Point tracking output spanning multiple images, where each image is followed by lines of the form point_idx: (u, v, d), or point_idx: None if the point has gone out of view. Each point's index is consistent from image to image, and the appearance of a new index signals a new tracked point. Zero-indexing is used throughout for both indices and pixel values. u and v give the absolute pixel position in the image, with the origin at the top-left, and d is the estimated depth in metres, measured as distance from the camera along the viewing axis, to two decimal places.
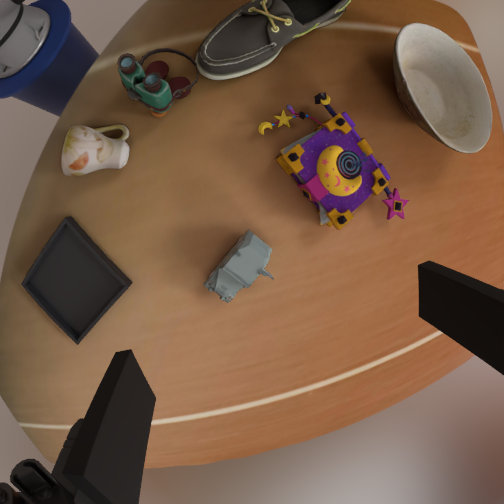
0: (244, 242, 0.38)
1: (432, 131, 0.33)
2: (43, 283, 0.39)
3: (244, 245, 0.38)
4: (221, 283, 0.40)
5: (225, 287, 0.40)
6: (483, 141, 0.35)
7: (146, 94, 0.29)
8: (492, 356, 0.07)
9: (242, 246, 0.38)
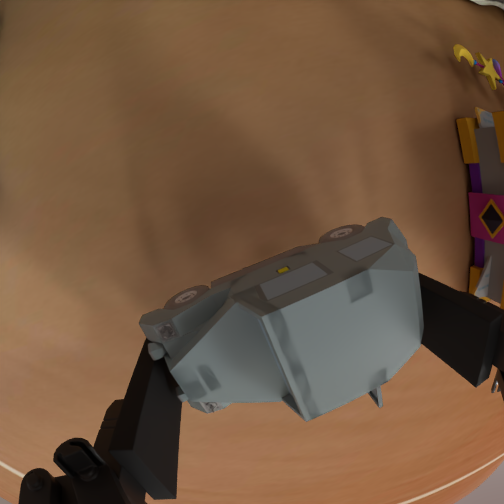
0: (396, 250, 0.08)
1: None
2: None
3: (396, 262, 0.08)
4: (209, 359, 0.09)
5: (216, 378, 0.09)
6: None
7: None
8: (455, 360, 0.08)
9: (388, 262, 0.07)
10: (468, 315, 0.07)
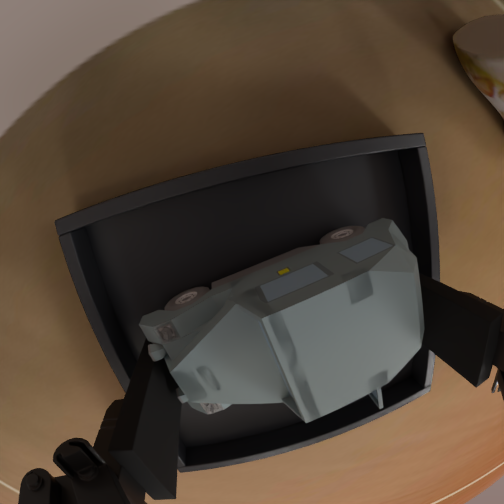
0: (396, 251, 0.08)
1: None
2: (152, 267, 0.11)
3: (396, 264, 0.07)
4: (210, 360, 0.09)
5: (216, 379, 0.09)
6: None
7: None
8: (456, 361, 0.08)
9: (389, 263, 0.07)
10: (468, 315, 0.07)
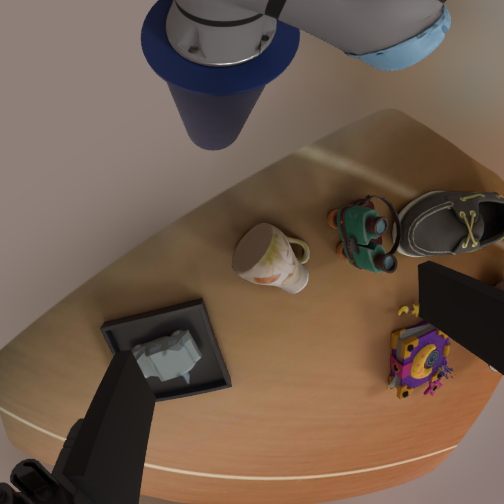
0: (176, 345, 0.34)
1: None
2: (128, 337, 0.38)
3: (174, 348, 0.34)
4: (140, 363, 0.35)
5: (142, 368, 0.35)
6: None
7: (369, 263, 0.32)
8: (492, 356, 0.07)
9: (172, 348, 0.34)
10: None
